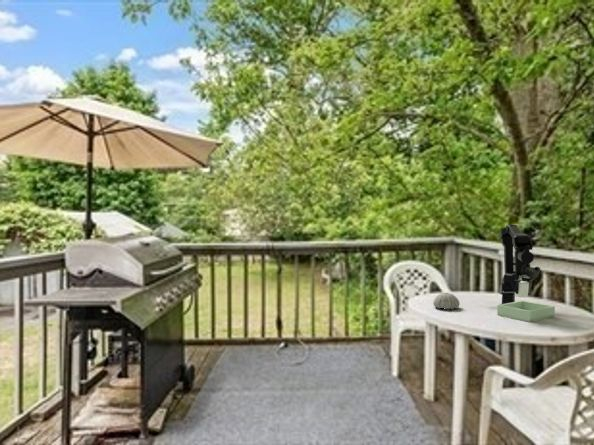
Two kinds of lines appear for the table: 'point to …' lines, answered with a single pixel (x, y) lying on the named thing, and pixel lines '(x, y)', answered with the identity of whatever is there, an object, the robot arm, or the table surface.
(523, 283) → the shot glass
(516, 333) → the table surface
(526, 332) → the table surface
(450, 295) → the sea urchin shell
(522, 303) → the bin
